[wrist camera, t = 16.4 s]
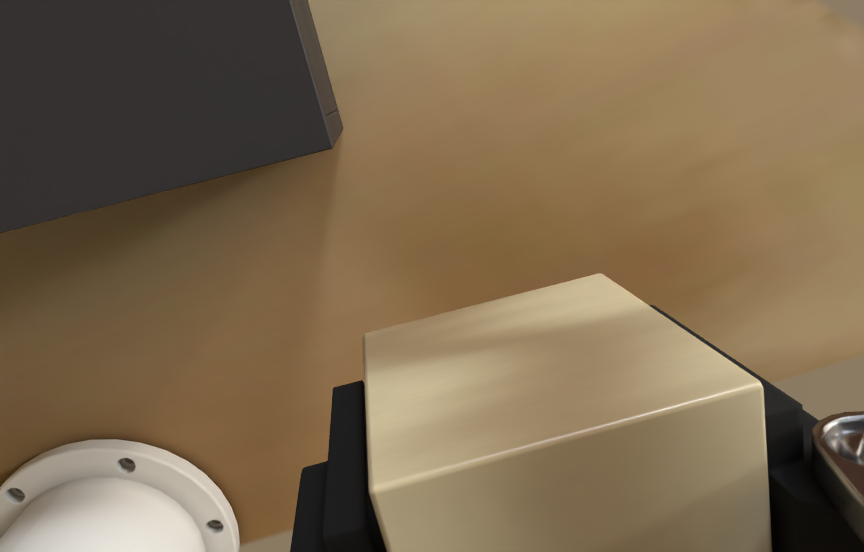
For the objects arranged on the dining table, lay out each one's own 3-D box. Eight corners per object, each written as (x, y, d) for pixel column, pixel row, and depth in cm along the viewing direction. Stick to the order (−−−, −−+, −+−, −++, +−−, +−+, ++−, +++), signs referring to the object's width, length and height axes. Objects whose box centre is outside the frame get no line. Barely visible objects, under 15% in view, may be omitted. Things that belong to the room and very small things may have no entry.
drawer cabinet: (18, 211, 26) (-174, 277, 17) (-137, -115, 22) (-503, -269, 13) (343, 129, 27) (333, 148, 17) (250, -205, 23) (171, -415, 13)
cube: (417, 533, 12) (454, 778, 8) (361, 332, 10) (366, 489, 6) (630, 475, 12) (781, 679, 8) (601, 271, 11) (766, 381, 6)
